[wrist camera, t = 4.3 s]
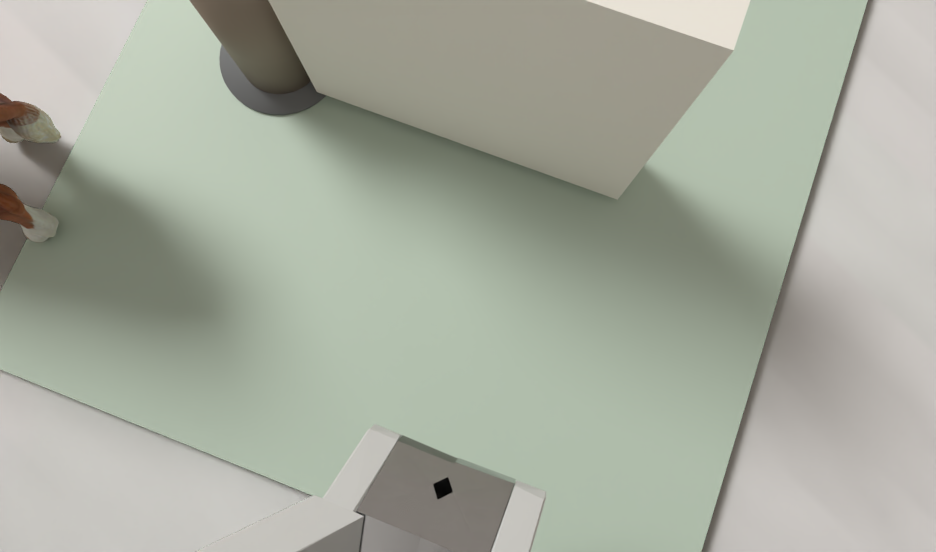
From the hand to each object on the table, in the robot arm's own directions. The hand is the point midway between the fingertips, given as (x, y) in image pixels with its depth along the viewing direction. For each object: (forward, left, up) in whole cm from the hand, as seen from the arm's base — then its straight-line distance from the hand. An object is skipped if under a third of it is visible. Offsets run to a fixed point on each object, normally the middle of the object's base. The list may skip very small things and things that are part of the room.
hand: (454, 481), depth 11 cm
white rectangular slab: (+8, +3, -6) cm, 11 cm away
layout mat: (+7, +3, -7) cm, 11 cm away
